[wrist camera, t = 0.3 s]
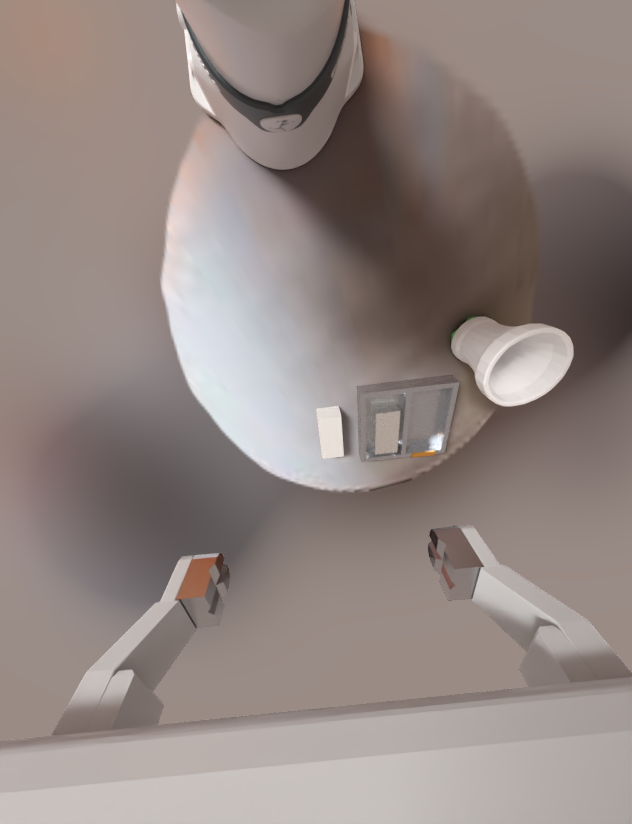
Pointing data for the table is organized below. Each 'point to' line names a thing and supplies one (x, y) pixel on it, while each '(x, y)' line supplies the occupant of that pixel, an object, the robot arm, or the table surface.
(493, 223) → the table surface
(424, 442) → the tray
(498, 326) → the cup
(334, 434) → the white rectangular block
